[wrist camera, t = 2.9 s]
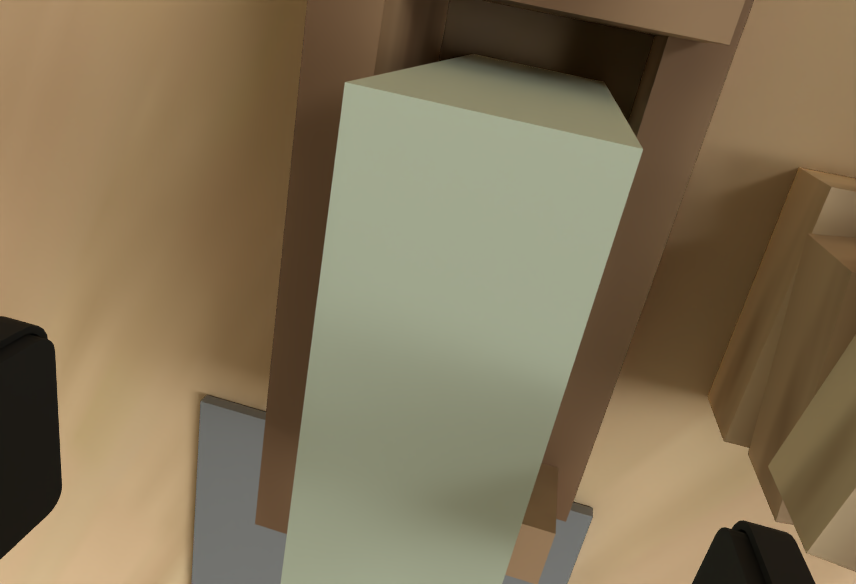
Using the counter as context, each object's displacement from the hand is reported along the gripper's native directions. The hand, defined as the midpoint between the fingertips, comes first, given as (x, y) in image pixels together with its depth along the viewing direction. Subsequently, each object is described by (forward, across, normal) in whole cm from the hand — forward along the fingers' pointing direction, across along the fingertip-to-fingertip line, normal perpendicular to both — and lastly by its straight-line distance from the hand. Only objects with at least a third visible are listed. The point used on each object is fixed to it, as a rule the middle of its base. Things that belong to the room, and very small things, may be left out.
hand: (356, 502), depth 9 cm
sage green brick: (+14, -1, 0) cm, 14 cm away
